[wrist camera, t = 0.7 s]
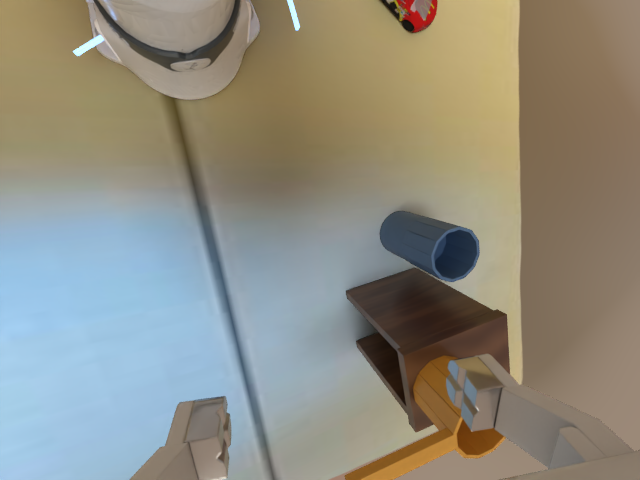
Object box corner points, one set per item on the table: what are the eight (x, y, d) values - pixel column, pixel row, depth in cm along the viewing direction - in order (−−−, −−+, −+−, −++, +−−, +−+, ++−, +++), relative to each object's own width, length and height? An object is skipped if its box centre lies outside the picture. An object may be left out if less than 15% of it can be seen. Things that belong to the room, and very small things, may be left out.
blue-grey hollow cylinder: (376, 217, 53) (428, 236, 40) (415, 206, 55) (477, 220, 42) (383, 257, 55) (435, 288, 42) (420, 245, 57) (481, 271, 44)
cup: (332, 456, 37) (357, 520, 30) (319, 406, 35) (342, 463, 28) (467, 395, 41) (514, 440, 34) (462, 347, 39) (512, 385, 32)
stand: (342, 291, 54) (403, 355, 37) (417, 266, 57) (507, 314, 40) (354, 348, 58) (415, 432, 40) (425, 321, 61) (510, 388, 43)
